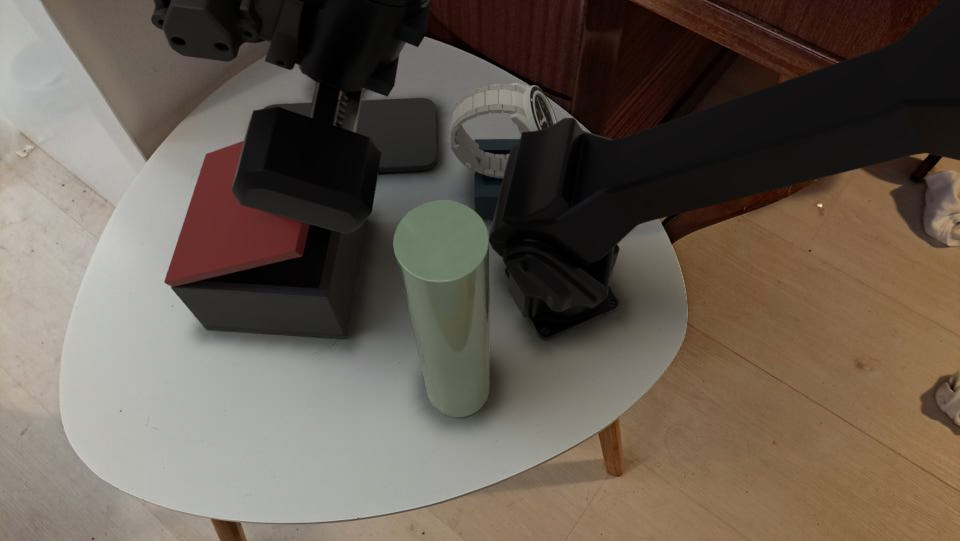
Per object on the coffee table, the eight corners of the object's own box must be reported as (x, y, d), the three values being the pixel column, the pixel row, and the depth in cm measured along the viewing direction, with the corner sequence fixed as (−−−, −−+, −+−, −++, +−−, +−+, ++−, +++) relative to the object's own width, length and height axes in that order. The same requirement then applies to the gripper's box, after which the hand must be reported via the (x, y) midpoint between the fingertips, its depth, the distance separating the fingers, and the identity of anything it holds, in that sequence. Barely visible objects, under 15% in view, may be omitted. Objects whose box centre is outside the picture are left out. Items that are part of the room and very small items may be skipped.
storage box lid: (334, 117, 47) (289, 74, 44) (302, 256, 42) (249, 219, 39) (213, 159, 52) (164, 122, 49) (172, 287, 47) (115, 256, 44)
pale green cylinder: (474, 348, 52) (465, 186, 34) (500, 402, 50) (505, 259, 33) (417, 372, 51) (378, 219, 34) (441, 428, 49) (414, 296, 32)
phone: (437, 165, 59) (251, 174, 58) (438, 171, 60) (254, 180, 59) (435, 96, 62) (260, 104, 62) (435, 102, 63) (262, 110, 63)
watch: (554, 219, 57) (567, 128, 48) (452, 219, 57) (445, 128, 48) (551, 162, 60) (563, 65, 50) (454, 162, 60) (447, 65, 50)
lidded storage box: (367, 218, 57) (353, 167, 52) (345, 339, 52) (327, 298, 47) (239, 211, 58) (211, 159, 52) (205, 329, 53) (170, 287, 47)
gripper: (235, -278, 32) (195, -32, 45) (112, 53, 24) (106, 234, 37) (464, -159, 36) (366, 34, 49) (422, 156, 28) (319, 287, 41)
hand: (296, 134), depth 44 cm, fingers open, 9 cm apart
